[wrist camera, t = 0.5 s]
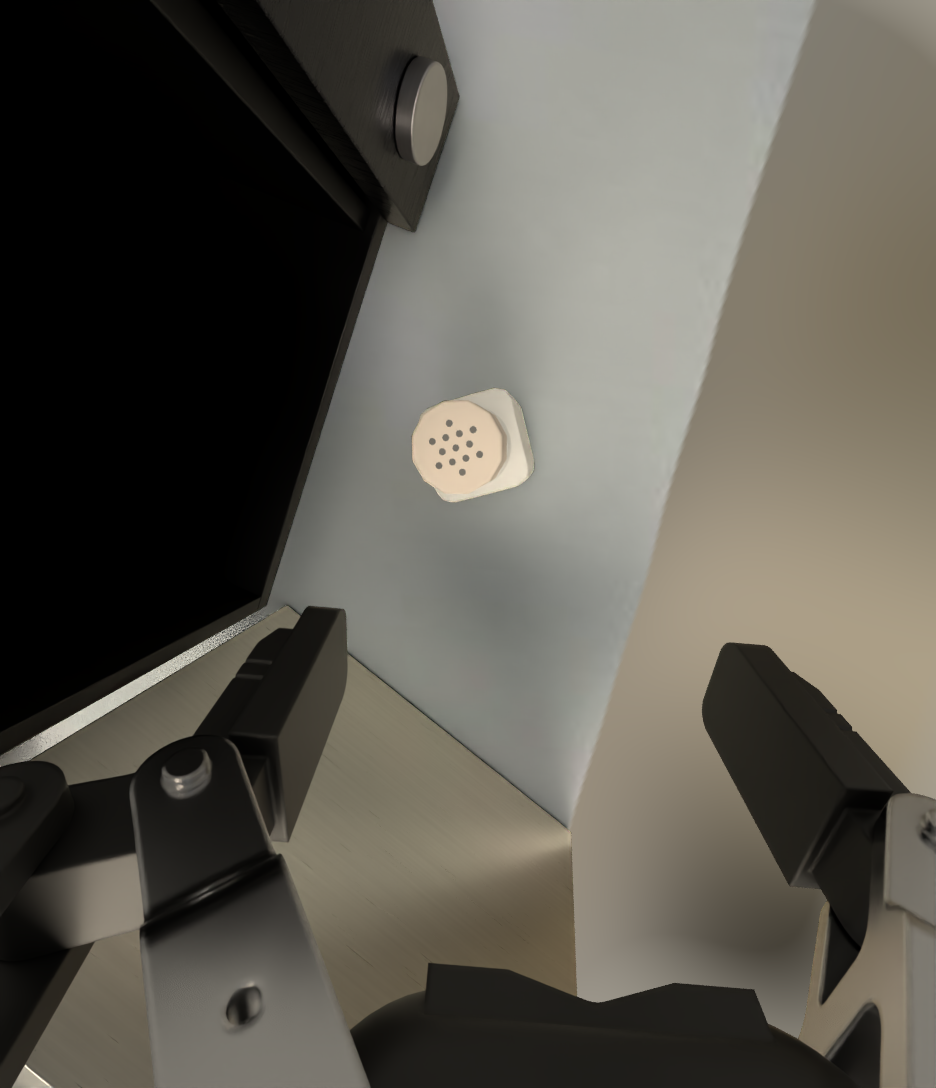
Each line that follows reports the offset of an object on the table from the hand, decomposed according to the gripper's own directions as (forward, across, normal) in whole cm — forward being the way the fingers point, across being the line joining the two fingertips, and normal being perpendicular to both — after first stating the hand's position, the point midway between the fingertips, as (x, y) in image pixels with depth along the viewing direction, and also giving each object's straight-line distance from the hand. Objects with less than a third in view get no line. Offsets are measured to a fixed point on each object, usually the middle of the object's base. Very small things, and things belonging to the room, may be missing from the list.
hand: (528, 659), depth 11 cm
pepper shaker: (+17, +1, 0) cm, 17 cm away
